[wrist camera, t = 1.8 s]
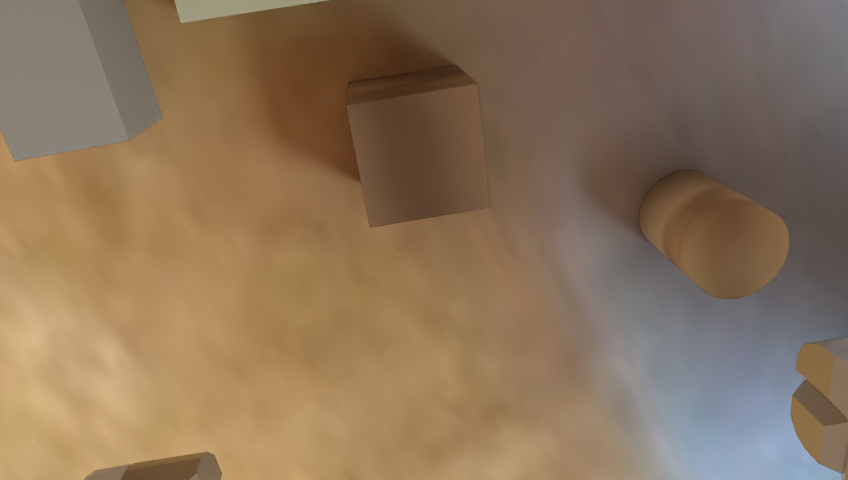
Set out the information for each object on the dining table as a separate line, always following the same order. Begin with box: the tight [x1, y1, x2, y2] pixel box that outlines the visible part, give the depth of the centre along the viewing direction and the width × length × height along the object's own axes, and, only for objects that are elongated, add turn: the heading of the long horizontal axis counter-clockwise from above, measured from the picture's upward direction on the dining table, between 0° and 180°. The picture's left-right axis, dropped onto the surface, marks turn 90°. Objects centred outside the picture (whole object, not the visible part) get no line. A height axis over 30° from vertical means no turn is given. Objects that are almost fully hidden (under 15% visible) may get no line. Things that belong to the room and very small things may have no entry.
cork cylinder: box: [639, 170, 790, 299], centre depth 26 cm, size 4×4×5 cm
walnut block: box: [346, 65, 491, 228], centre depth 24 cm, size 4×4×5 cm
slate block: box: [0, 0, 162, 161], centre depth 22 cm, size 4×6×4 cm, turn 9°
